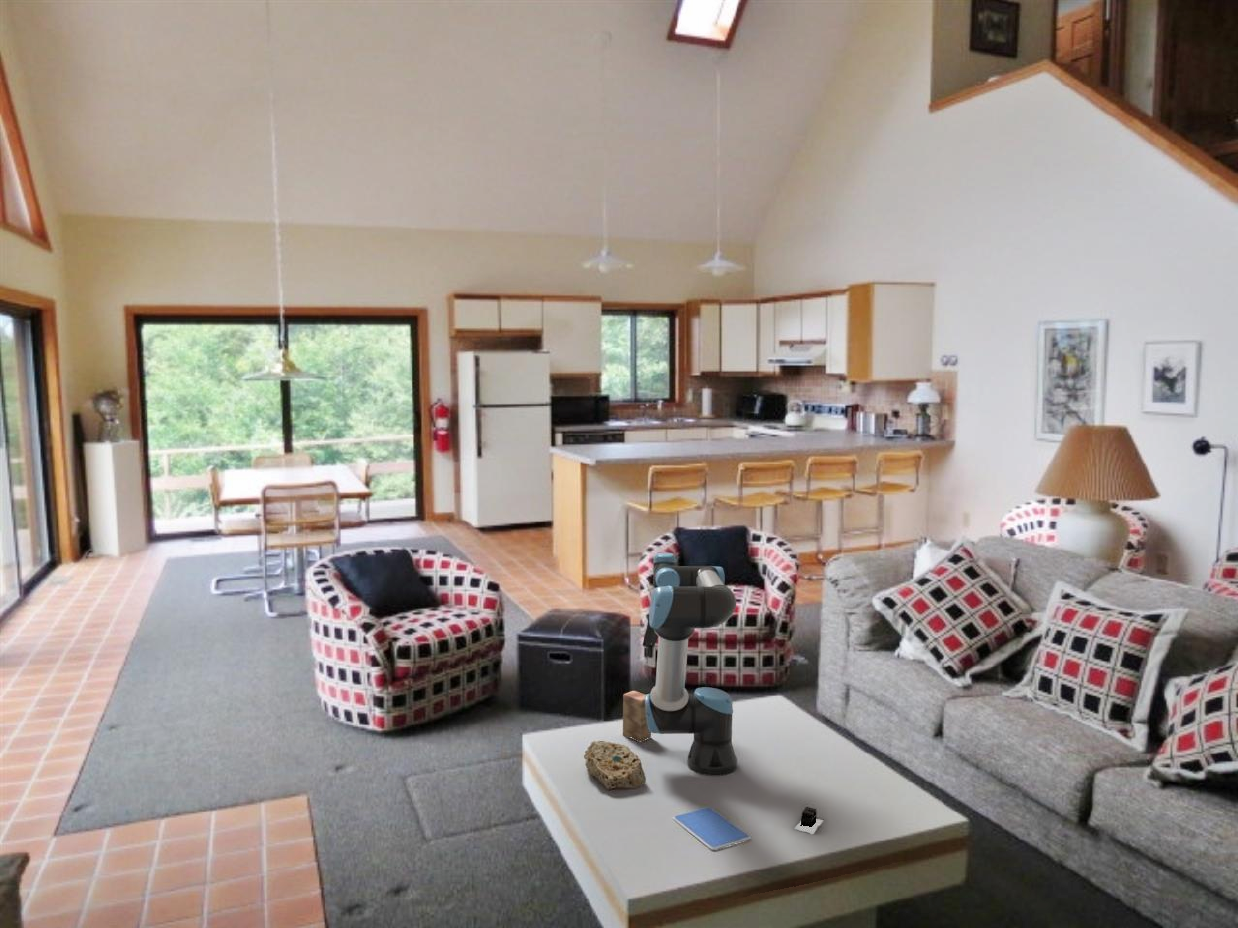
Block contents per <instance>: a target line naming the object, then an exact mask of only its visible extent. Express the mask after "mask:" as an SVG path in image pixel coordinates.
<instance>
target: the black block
mask: <svg viewBox="0 0 1238 928" xmlns="http://www.w3.org/2000/svg"><path fill="white" fill-rule="evenodd" d="M816 818H818V817H817V808H814V807H811V806H810V807H809V806H805V807H804V809H803V810H802V811H801V817H800V820H801V825H800V826H802V825H803V826H809V827H812V826H813V825H814V824H815V823H816Z"/></svg>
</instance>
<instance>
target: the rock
mask: <svg viewBox="0 0 1238 928" xmlns="http://www.w3.org/2000/svg"><path fill="white" fill-rule="evenodd" d="M583 758H584V759H585V766H586V769H587V772H588V773H589V774H590V775H591V776H592V777H595V778H597V779H598V780H599V782H600V783H601V784H603V785H604V786H605V787H606V790H610V789H615V788H626V789H628V788H632V789H633V788H634V789H635V788H639V787H641V786H643V785H644V784H645V783H646V781H647V779H646V777H647V776H646V775H645V771H644V769H643V766H642V765H643V764H642V760H641V758H640V757H639V756H638V754H636V753H634V752H633V751H631V749H630V748H629V746H627V745H625V744H621V743H616V742H612V741H611V742H610V741H604V740H598V741H597V740H596V741H591V743H590V745H589V746H587V750H585V754H584V756H583Z"/></svg>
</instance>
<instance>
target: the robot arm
mask: <svg viewBox="0 0 1238 928" xmlns="http://www.w3.org/2000/svg"><path fill="white" fill-rule="evenodd" d="M652 564H653V568H652V569H653V570H652V571H653V573H652V574H653V575H652V576H653V581H652V582H653V583H652V584H653V585H652V586H653V588H652V589H653V590H652V593H651V597H650V603H649V612H648V613H649V615H648V618H647V626H646V629H645V633H644V637H643V640H642V647H644V648H646V657H647V666H648V667H651V668H655V667H656V674H655V675H656V676H655V686H653V687H652V688H651V691H650V693H648V694H645V695H646V696H645V706H646V715H647V725H648V729H649V731H650V732H651V734H660V735H668V734H669V735H674V734H678V735H680V734H685V735H686V734H687V735H688V734H691V735H692V734H693V741H692V743H691V746H690V749H689V751H688V755H687V767H688V768H689V769H690V770H691V771H693V772H694V773H697V774H700V775H705V776H713V777H714V776H715V777H716V776H726V775H729V774H731V773H733V772H734V771H736V770H737V767H738V759H737V756H736V753H735V748H734V744H733V741H732V740H733V739H732V737H733V714H734V707H733V704H734V703H733V699H732V696H731V695H730V694H729V693H727V692H725V691H724V690H722V689H719V688H715V687H714V688H713V687H708V686H703V687H697V688H696V689H695V690H694V693H689V692H688V690H687V689H686V688H685V685H686V670H687V659H688V645H689V639H690V638H692V636H693V635H694V632H695V629H711V628H715V627H719V626H720V625H723V624H724V623H725V622H727V621H728V620H729V619H730V618H732V617H733V615H734V613H735V611H736V609H737V598H736V595H735V593H734V592H733V591H732V588H730V587H728V586H727V585H725V581H726V580H725V571H724V568H723V567H722V566H714V565H709V566H707V565H705V566H704V565H701V566H690V565H687V566H686V565H684V566H683V565H681V566H679V565H677V556H676V555H675V554H674V553H672V552H658V553H655V554H654V556H653V562H652ZM656 642H657V643H658V644H657V658H656V647H655V644H656Z"/></svg>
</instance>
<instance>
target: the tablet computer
mask: <svg viewBox="0 0 1238 928" xmlns="http://www.w3.org/2000/svg"><path fill="white" fill-rule="evenodd" d="M672 820H673V821H674V822H675V823H676V824H678V825H679V826H681V828H683V829H685V831H687V832H688V833H689V834H691V835H692V836H693V837H694V838H696V839H697V840H698V841H700V842H701V844H703V845H704V846H706V847H707V848H708V849H709V848H710V849H711V850H710V849H709V850H710V851H712V850H716V849H720V848H723V847H726V846H729V845H733V844H735V843H739V842H743V841H746V842H748V841H747V840H749V839H750V840H751V836H750V835H749V834H747V833H746V832H744V831H743V830H742V829H740V828H739V827H738V826H736V825H735V824H733V823H732V822H731V821H729V820H728V819H727V818H725V817H724V816H723V815H721V813H718V811H716V810H715V809H714V808H712V807H708V806H707V807H703V808H699V809H696V810H691V811H689V812H685V813H681V814H677V815H674V816H673V817H672ZM750 840H749V841H750ZM743 843H744V842H743ZM733 846H734V845H733ZM723 849H724V848H723ZM720 850H721V849H720Z"/></svg>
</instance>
